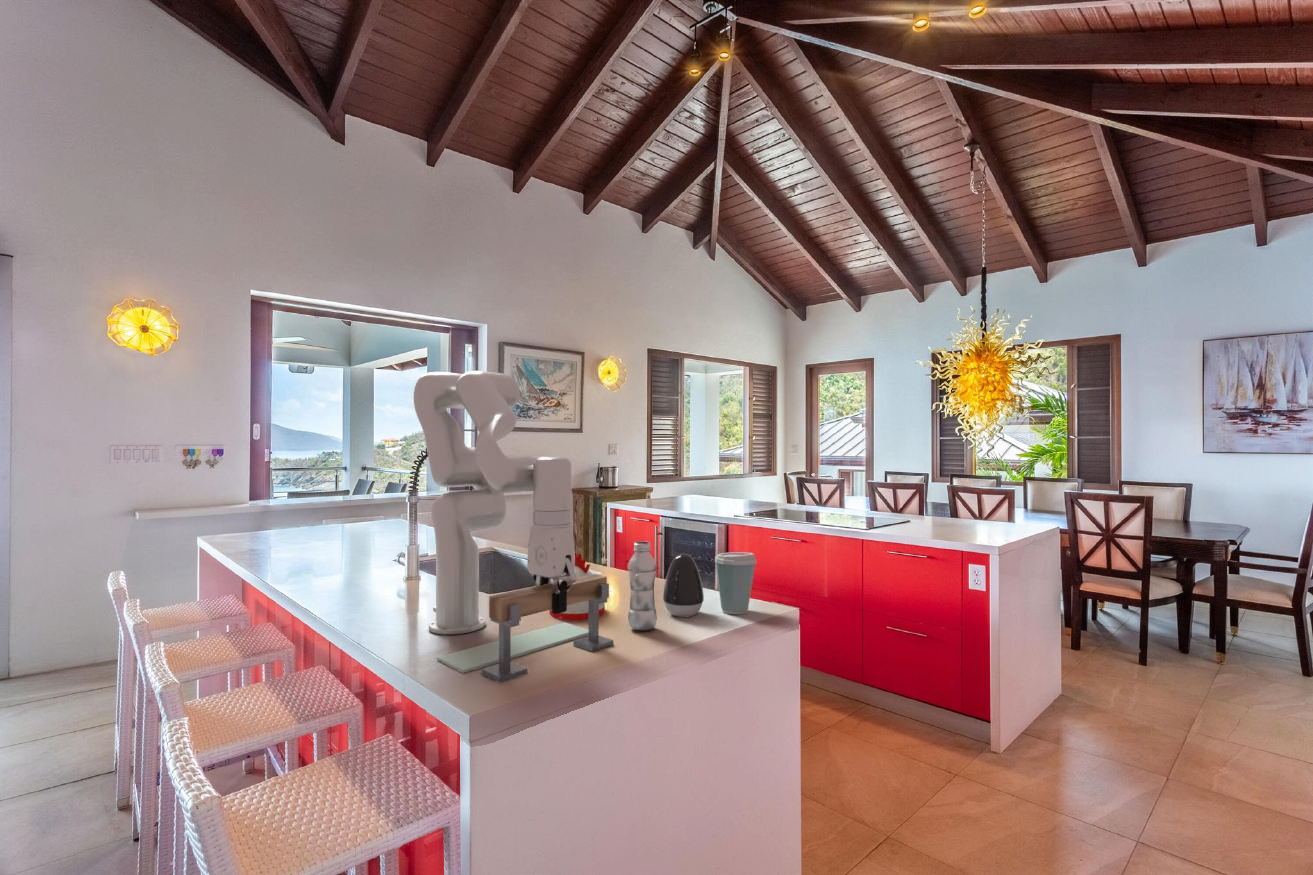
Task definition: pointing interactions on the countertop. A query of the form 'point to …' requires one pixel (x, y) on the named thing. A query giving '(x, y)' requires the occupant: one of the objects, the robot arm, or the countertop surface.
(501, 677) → the hook standards
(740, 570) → the disposable coffee cup
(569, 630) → the mat
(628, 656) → the countertop surface
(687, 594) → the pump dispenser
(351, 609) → the countertop surface
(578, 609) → the kitchen timer
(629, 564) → the plastic bottle
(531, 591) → the rail
